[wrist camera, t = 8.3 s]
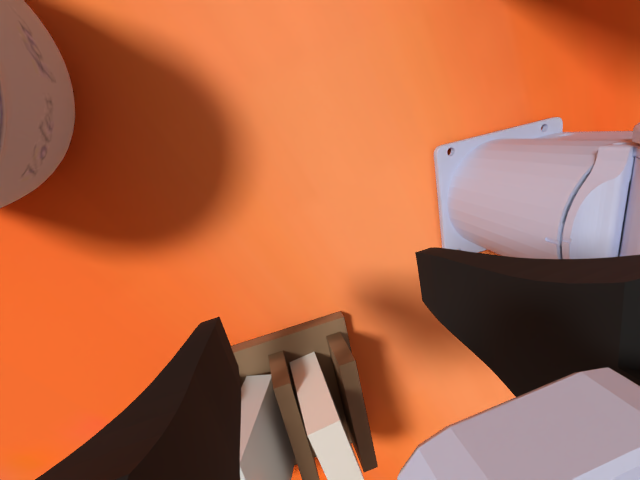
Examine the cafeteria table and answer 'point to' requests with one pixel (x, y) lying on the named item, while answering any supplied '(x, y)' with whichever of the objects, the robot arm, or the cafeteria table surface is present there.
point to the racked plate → (263, 433)
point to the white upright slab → (323, 421)
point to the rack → (339, 374)
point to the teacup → (31, 102)
